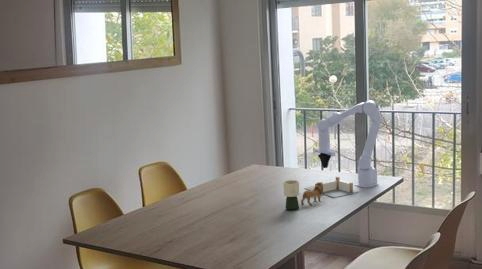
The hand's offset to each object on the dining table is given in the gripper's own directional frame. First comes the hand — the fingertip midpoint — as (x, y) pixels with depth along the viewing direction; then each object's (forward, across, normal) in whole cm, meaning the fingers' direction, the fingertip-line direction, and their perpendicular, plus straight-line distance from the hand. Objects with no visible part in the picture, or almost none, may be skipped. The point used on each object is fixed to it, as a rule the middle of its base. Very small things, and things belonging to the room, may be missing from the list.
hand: (325, 167), depth 318 cm
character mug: (+10, +24, -39) cm, 47 cm away
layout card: (+9, +10, -5) cm, 15 cm away
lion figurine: (+10, +22, -26) cm, 35 cm away
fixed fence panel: (+9, +16, -1) cm, 18 cm away
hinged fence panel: (+9, +11, -8) cm, 16 cm away
